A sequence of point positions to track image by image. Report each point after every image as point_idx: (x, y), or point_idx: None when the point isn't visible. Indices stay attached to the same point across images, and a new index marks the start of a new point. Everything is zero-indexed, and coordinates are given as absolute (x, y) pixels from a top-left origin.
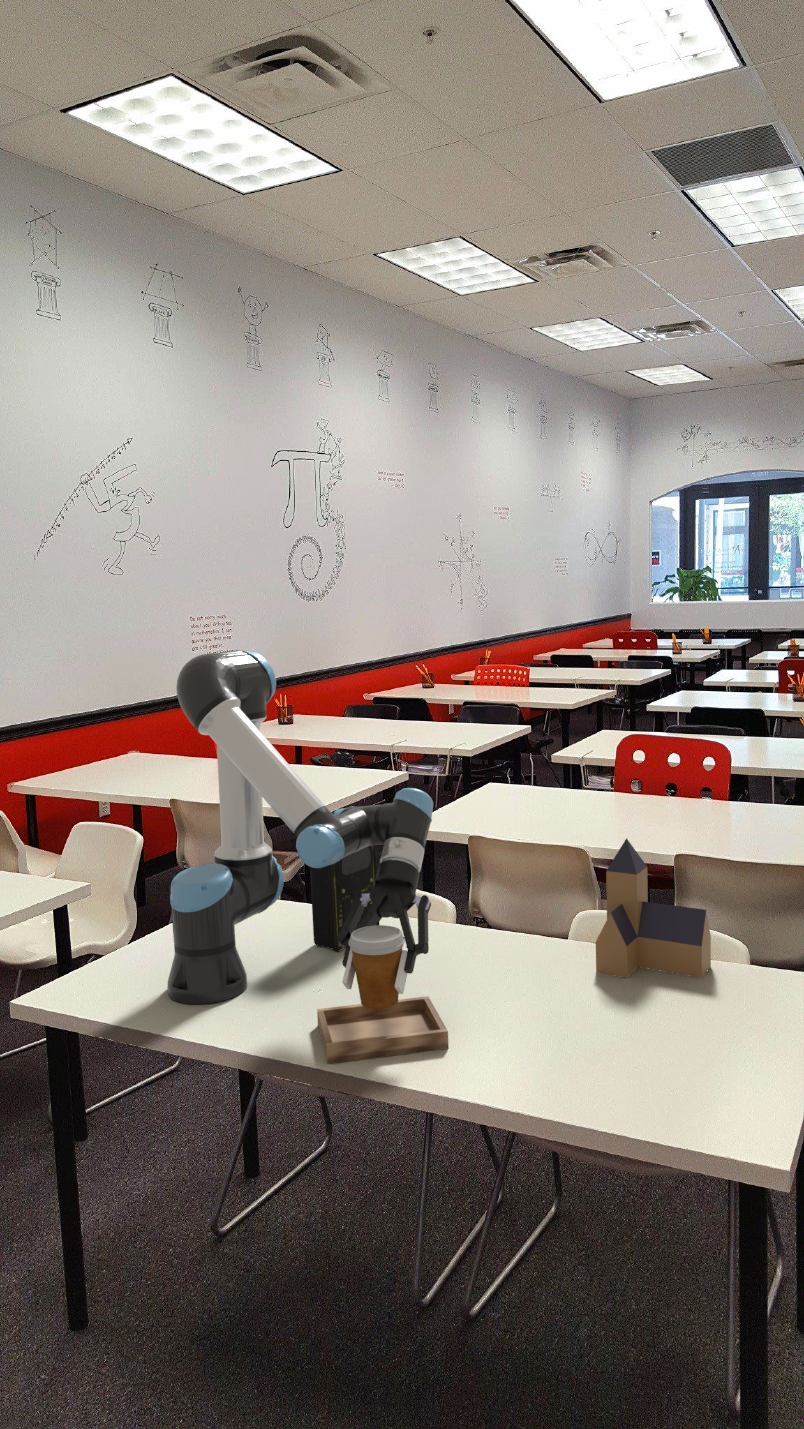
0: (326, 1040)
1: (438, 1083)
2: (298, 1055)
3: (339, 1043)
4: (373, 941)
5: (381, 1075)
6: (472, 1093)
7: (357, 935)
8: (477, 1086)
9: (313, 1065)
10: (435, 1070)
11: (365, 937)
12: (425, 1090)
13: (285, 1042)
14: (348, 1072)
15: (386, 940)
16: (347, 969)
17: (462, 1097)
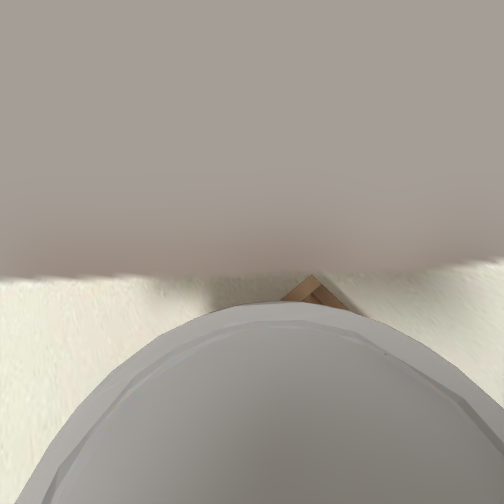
0: (330, 294)
1: (77, 311)
2: (385, 295)
3: (294, 295)
4: (228, 394)
5: (189, 294)
6: (11, 305)
7: (485, 501)
8: (3, 331)
9: (328, 274)
10: (93, 355)
11: (364, 475)
12: (95, 281)
13: (460, 334)
14: (252, 279)
15: (92, 416)
16: None
17: (28, 286)
